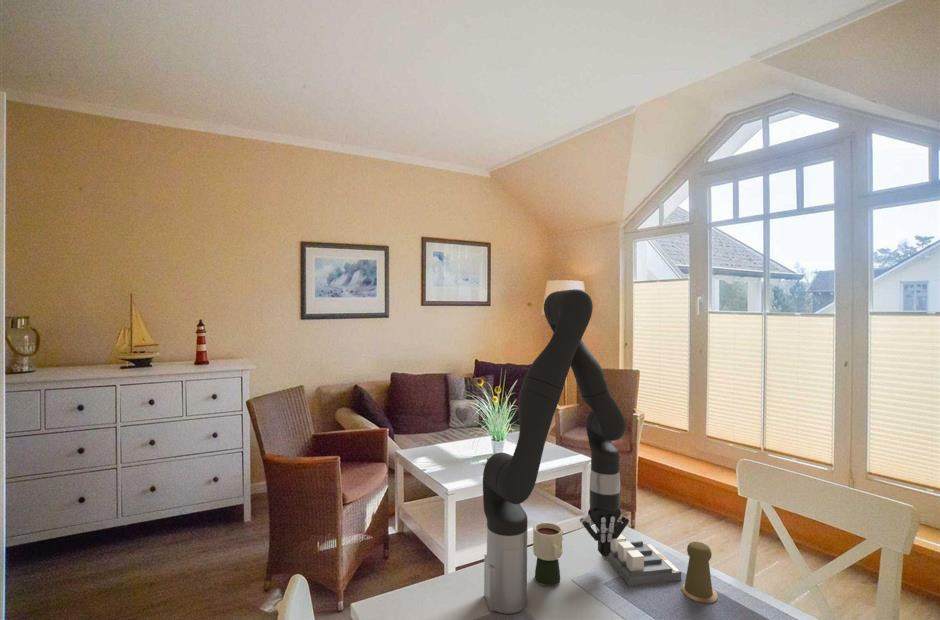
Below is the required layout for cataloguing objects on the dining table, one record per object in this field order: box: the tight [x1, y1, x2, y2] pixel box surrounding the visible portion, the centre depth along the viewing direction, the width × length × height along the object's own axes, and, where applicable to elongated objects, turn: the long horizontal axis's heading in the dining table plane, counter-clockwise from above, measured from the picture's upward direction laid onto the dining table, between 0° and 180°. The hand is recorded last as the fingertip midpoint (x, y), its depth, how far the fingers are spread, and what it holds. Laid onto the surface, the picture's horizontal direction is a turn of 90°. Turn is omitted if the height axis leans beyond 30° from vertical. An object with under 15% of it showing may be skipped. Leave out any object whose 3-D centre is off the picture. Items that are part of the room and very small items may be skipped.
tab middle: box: [618, 540, 635, 562], centre depth 121 cm, size 3×3×4 cm
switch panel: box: [603, 540, 682, 586], centre depth 122 cm, size 14×14×3 cm
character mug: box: [532, 521, 564, 586], centre depth 116 cm, size 11×7×13 cm, turn 12°
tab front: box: [626, 550, 644, 571], centre depth 117 cm, size 3×3×4 cm
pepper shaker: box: [684, 541, 713, 598], centre depth 111 cm, size 6×6×11 cm
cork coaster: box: [681, 582, 718, 604], centre depth 111 cm, size 8×8×1 cm
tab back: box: [611, 533, 627, 553], centre depth 126 cm, size 3×3×4 cm
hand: (604, 554), depth 120 cm, fingers closed
